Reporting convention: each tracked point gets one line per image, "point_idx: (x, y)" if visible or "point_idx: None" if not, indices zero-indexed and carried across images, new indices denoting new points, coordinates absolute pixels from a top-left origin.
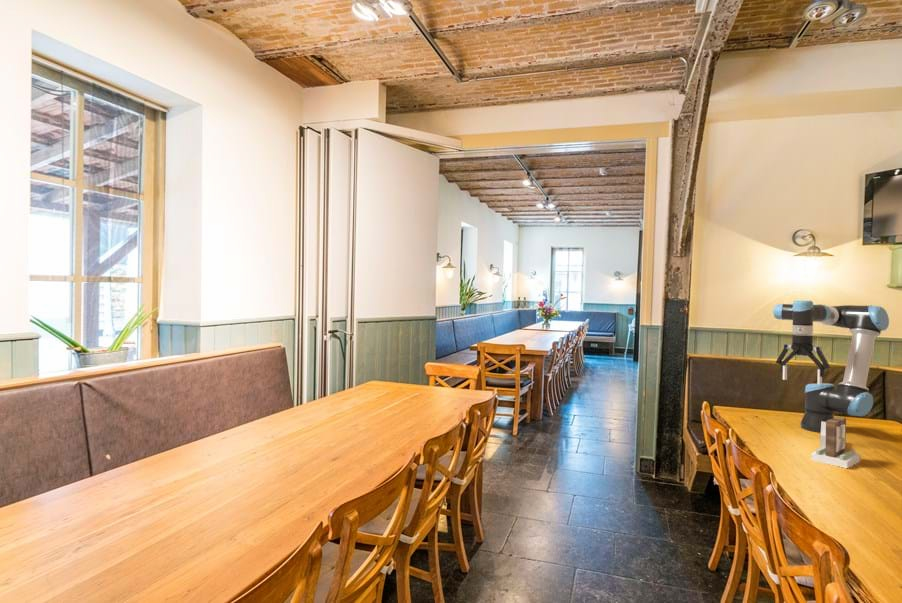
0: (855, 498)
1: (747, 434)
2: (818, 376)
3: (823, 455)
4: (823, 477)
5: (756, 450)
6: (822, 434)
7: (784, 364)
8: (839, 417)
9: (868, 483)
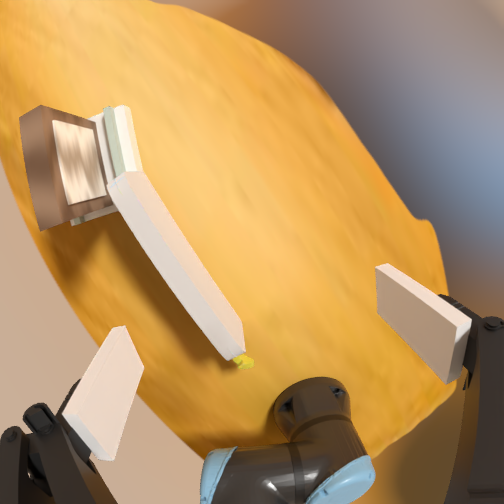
0: (9, 21)
1: (373, 180)
2: (95, 364)
3: (97, 117)
4: (62, 38)
5: (251, 48)
6: (120, 177)
7: (470, 362)
8: (54, 222)
9: (13, 98)
